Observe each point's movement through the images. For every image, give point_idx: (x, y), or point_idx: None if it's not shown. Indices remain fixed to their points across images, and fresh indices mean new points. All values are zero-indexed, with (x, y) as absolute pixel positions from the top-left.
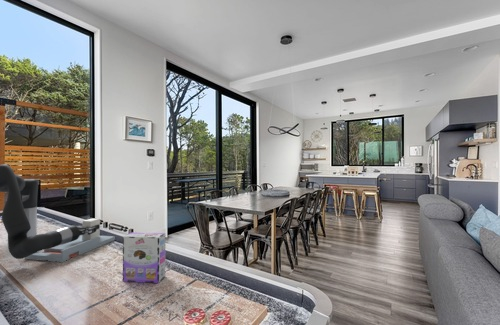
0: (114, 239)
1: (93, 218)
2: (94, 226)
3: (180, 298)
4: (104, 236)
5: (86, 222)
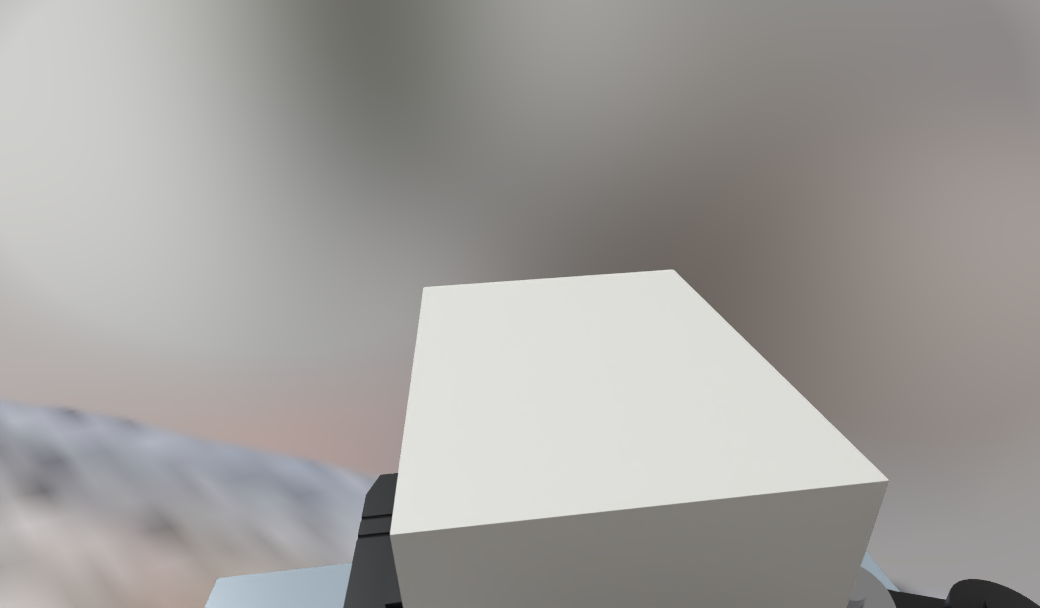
0: None
1: (477, 285)
2: None
3: None
4: None
5: (643, 560)
